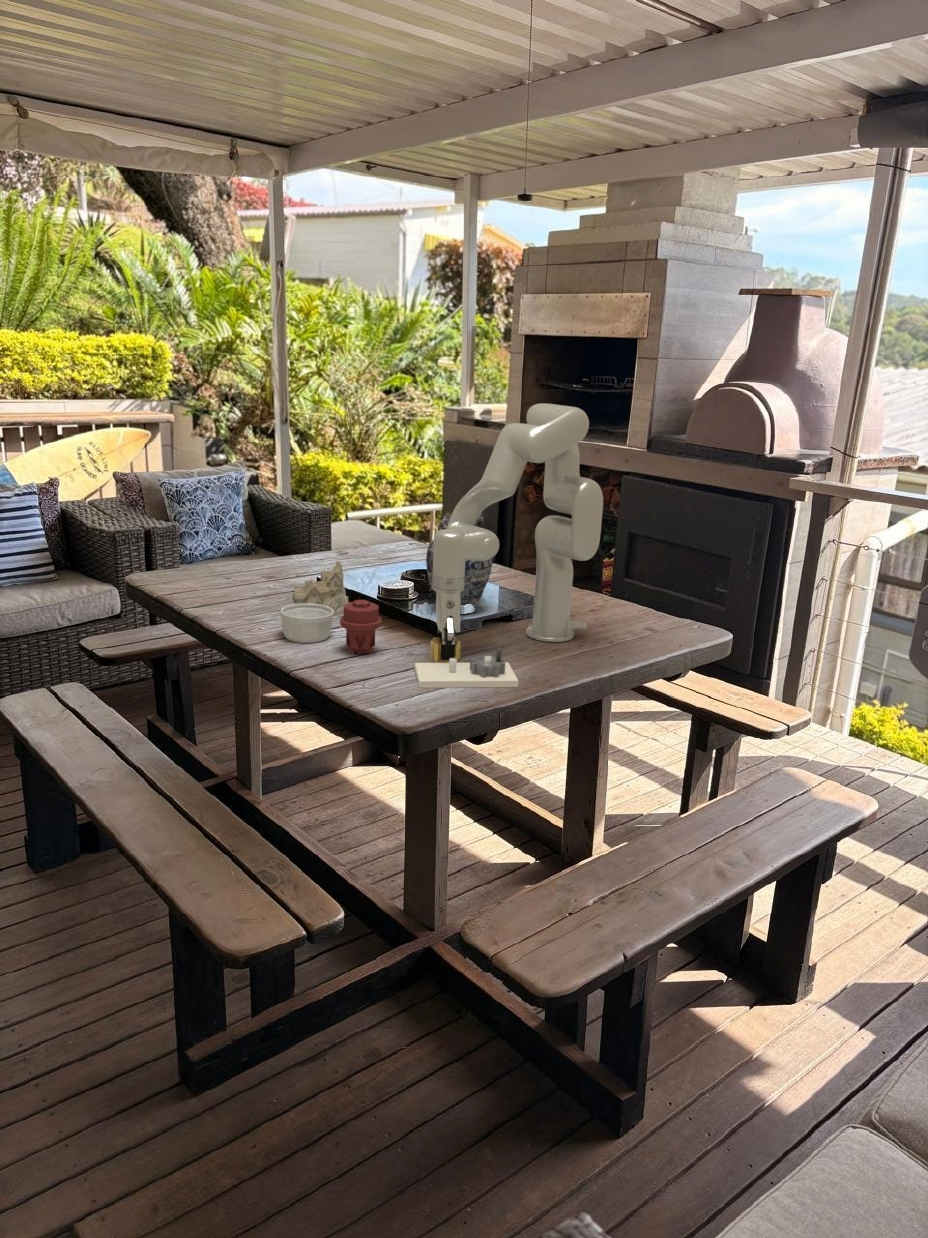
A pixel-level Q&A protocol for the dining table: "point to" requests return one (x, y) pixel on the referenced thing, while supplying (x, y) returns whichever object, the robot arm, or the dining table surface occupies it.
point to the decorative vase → (474, 570)
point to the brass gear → (436, 649)
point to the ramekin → (306, 622)
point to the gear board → (467, 673)
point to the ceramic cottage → (324, 591)
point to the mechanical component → (360, 625)
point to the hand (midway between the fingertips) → (445, 653)
